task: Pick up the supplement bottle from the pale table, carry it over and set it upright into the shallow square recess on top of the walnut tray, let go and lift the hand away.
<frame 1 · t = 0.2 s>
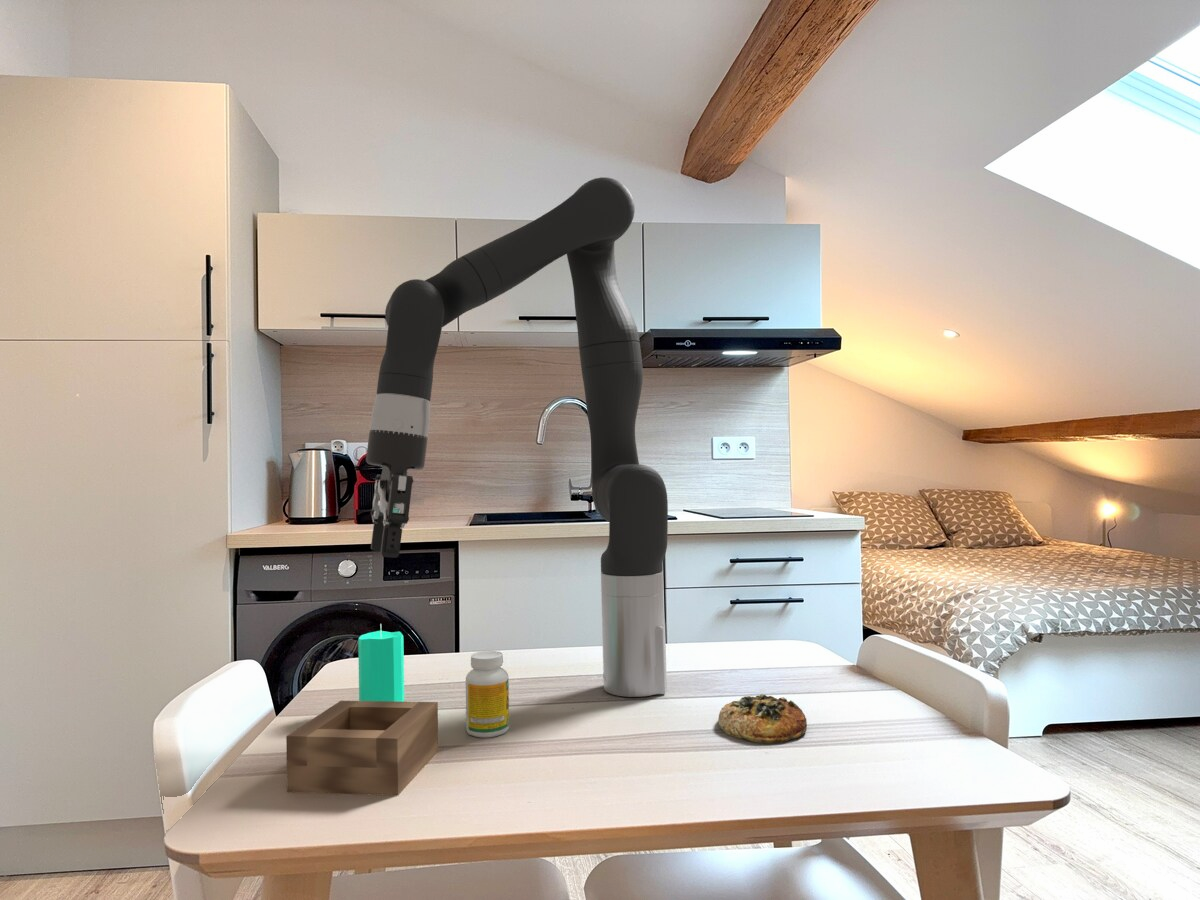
hand: (383, 554, 98), 22 cm above the table, tool pointing down, fingers open, 8 cm apart
supplement bottle: (488, 732, 94), on the table
candle: (382, 712, 103), on the table
walnut tray: (367, 772, 82), on the table
bread roll: (761, 732, 93), on the table
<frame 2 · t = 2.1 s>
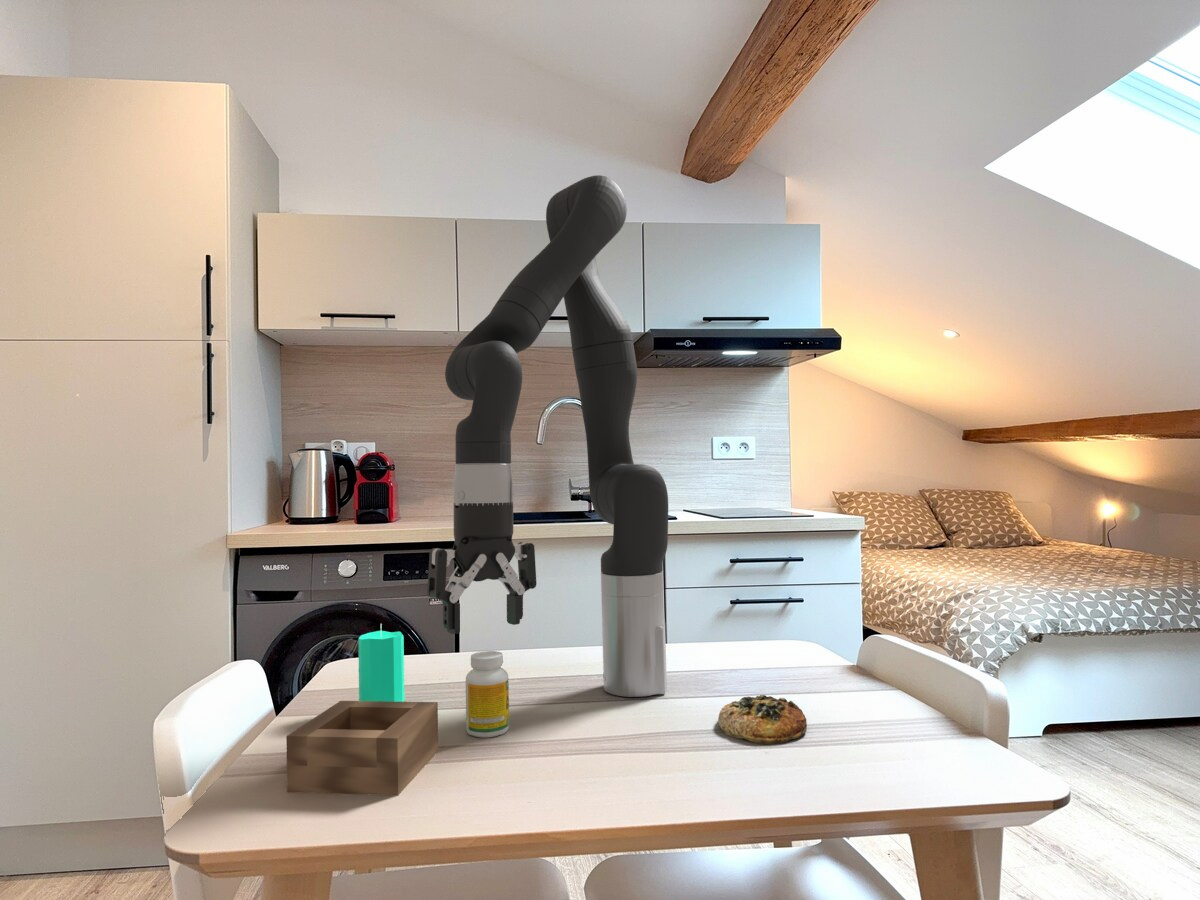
hand: (484, 628, 94), 13 cm above the table, tool pointing down, fingers open, 8 cm apart
nothing on the table moved.
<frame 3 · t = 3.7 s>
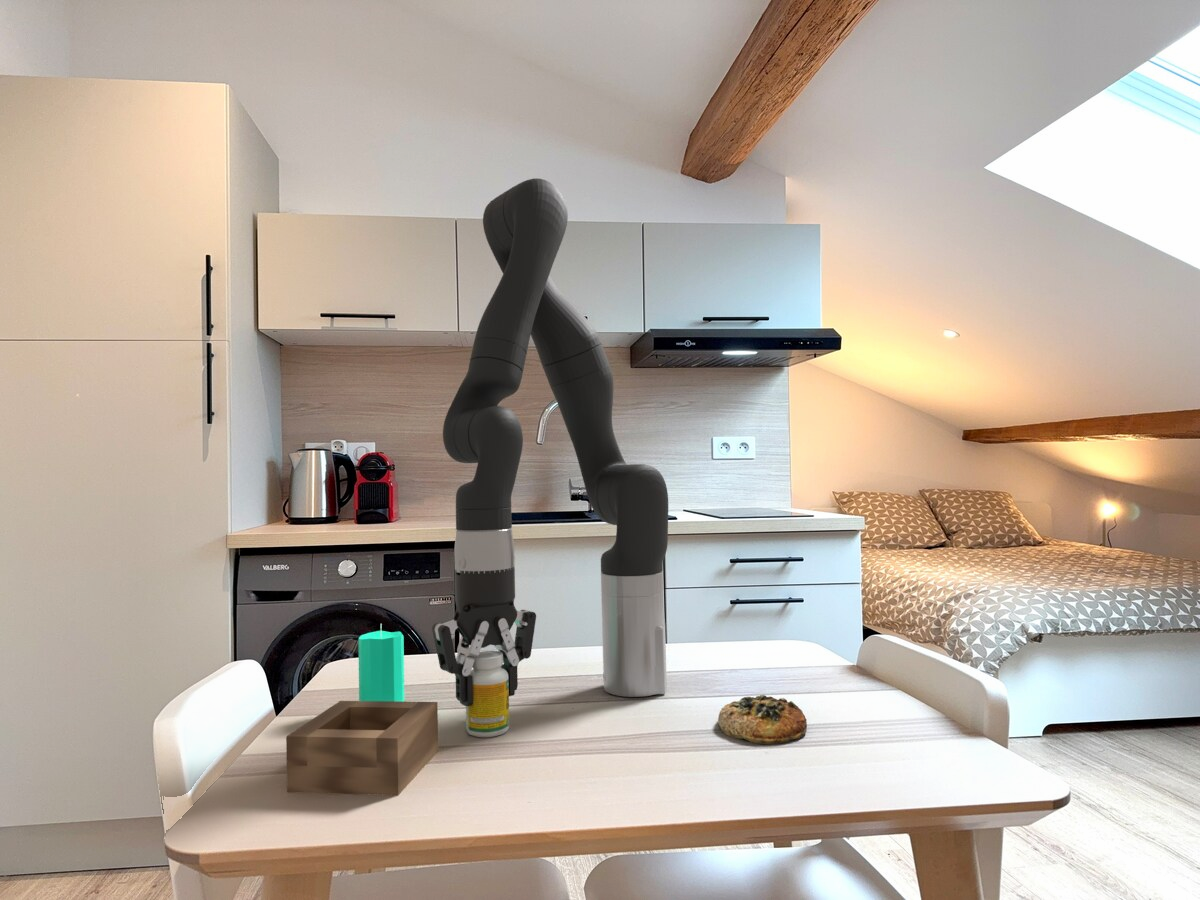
hand: (487, 699, 94), 4 cm above the table, tool pointing down, fingers closed on supplement bottle, 5 cm apart
supplement bottle: (488, 732, 94), on the table, touching gripper
everything else where it was.
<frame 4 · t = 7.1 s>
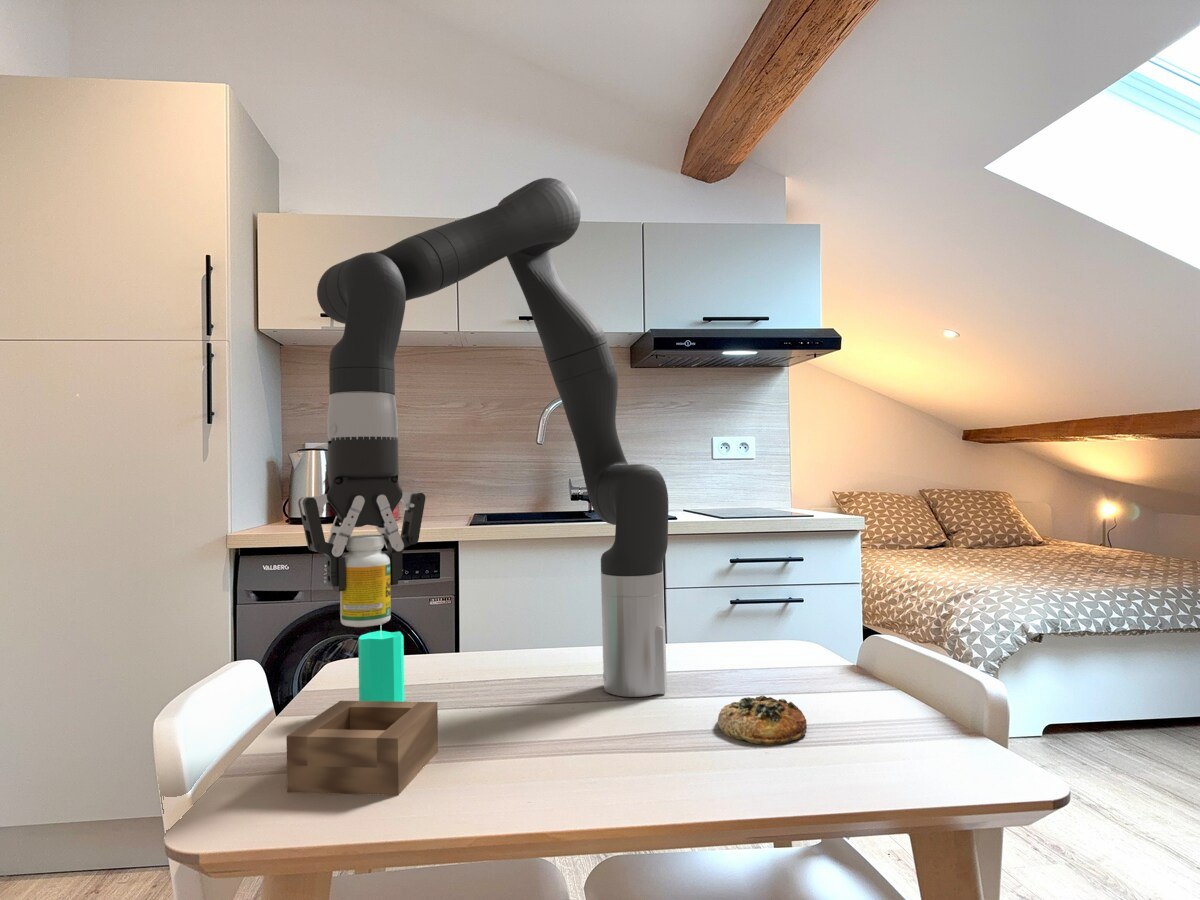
hand: (365, 586, 83), 20 cm above the table, tool pointing down, fingers closed on supplement bottle, 5 cm apart
supplement bottle: (366, 624, 83), point 16 cm above the table, touching gripper
everything else where it was.
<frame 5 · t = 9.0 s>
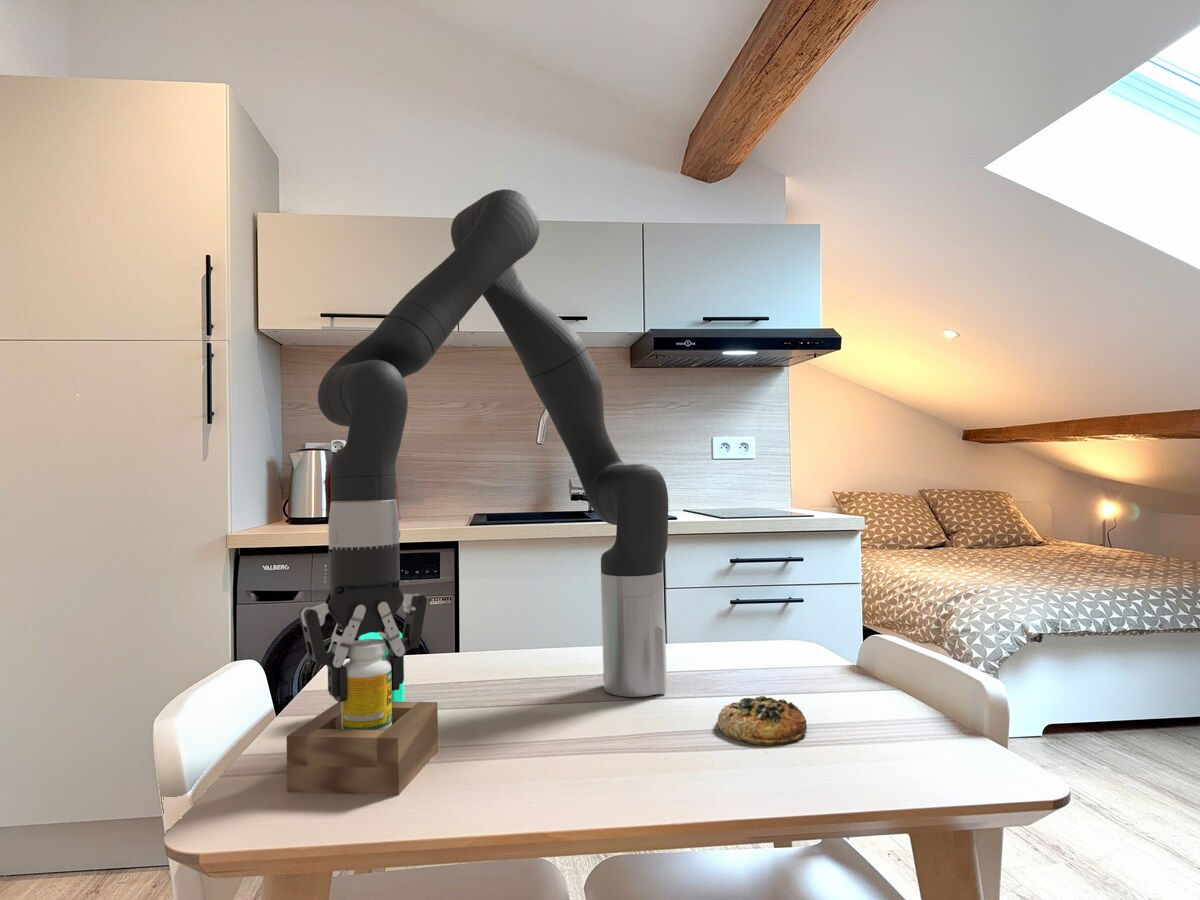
hand: (366, 693, 83), 8 cm above the table, tool pointing down, fingers closed on supplement bottle, 5 cm apart
supplement bottle: (367, 731, 83), point 4 cm above the table, touching gripper
everything else where it was.
when the fingers open (8 cm above the table, at t = 10.5 s): supplement bottle drops 1 cm, resting on walnut tray.
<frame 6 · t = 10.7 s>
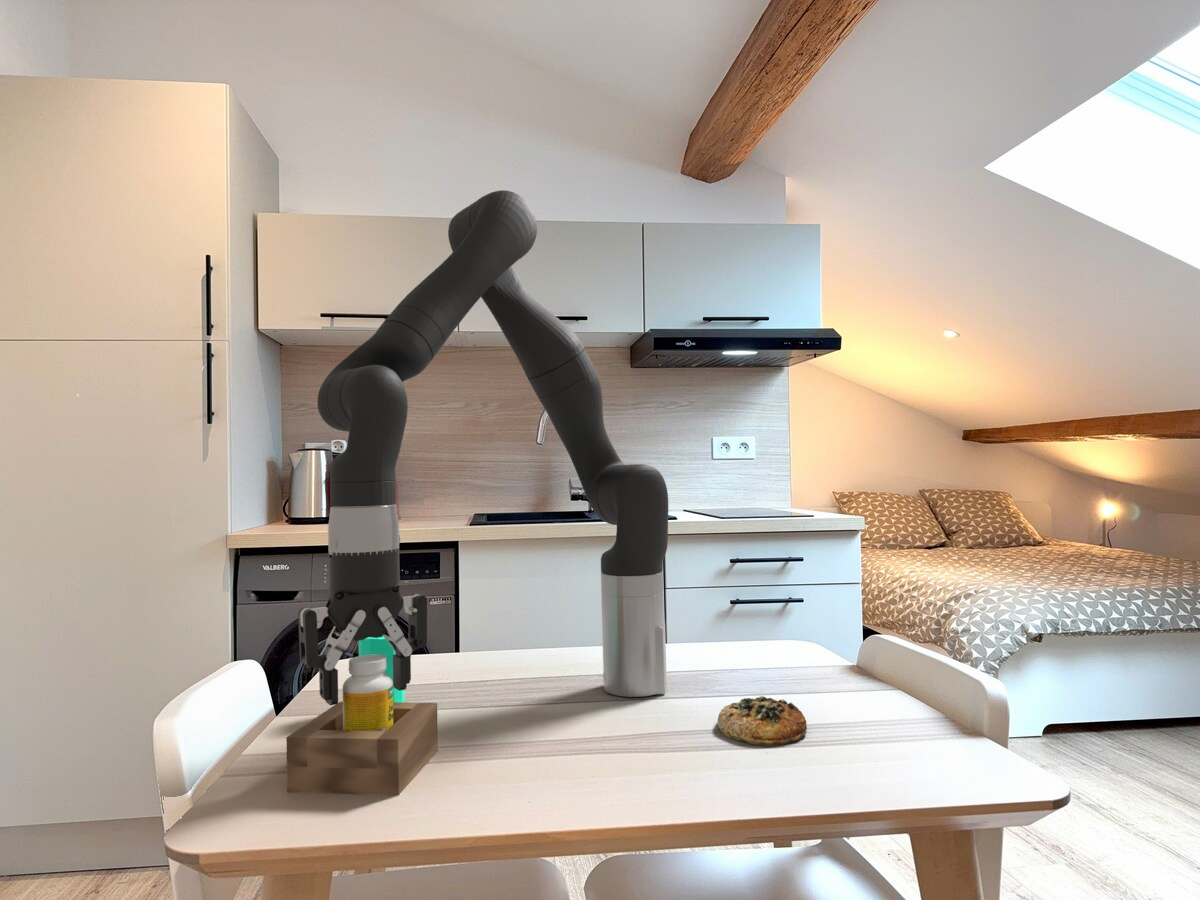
hand: (366, 695, 83), 8 cm above the table, tool pointing down, fingers open, 7 cm apart
supplement bottle: (368, 747, 83), point 2 cm above the table, touching walnut tray
walnut tray: (367, 773, 82), on the table, touching supplement bottle
everything else where it was.
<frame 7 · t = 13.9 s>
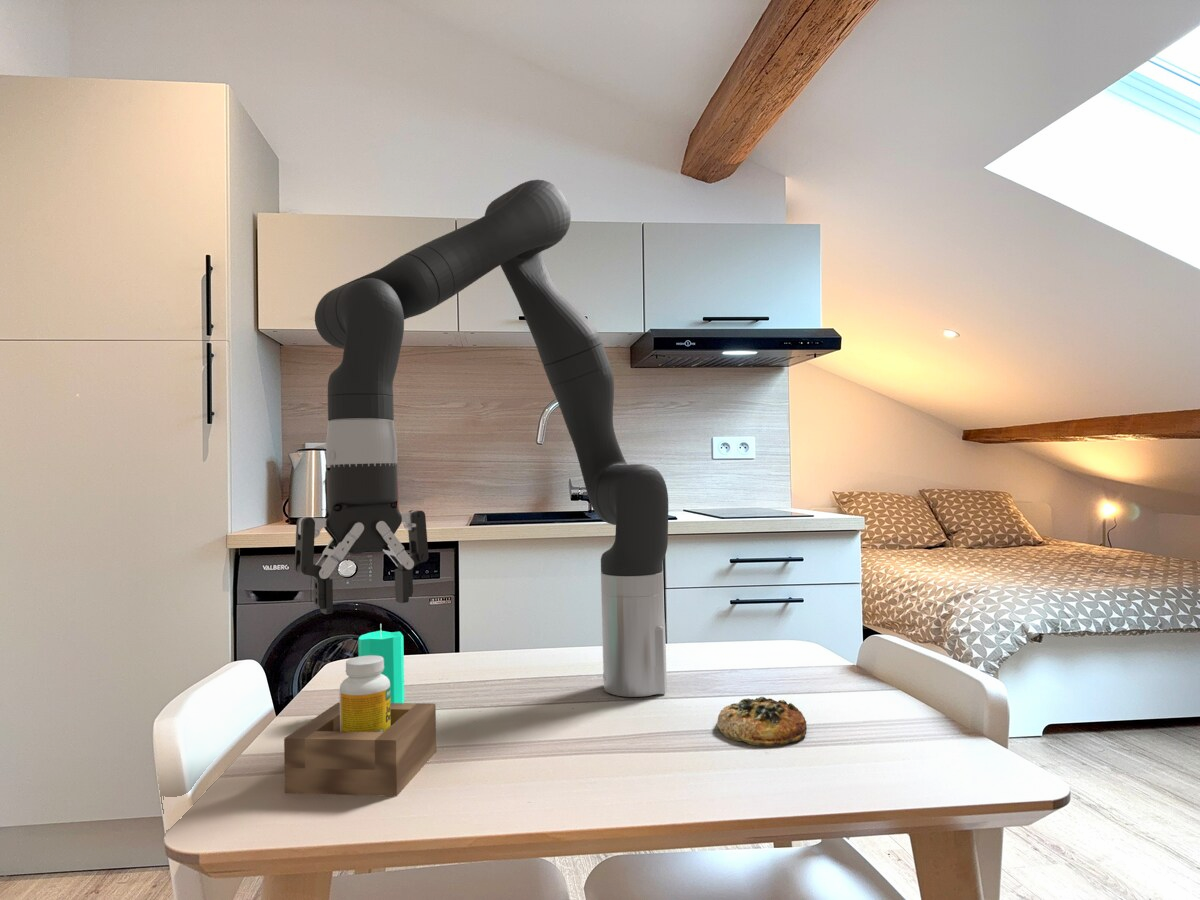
hand: (365, 607, 83), 18 cm above the table, tool pointing down, fingers open, 8 cm apart
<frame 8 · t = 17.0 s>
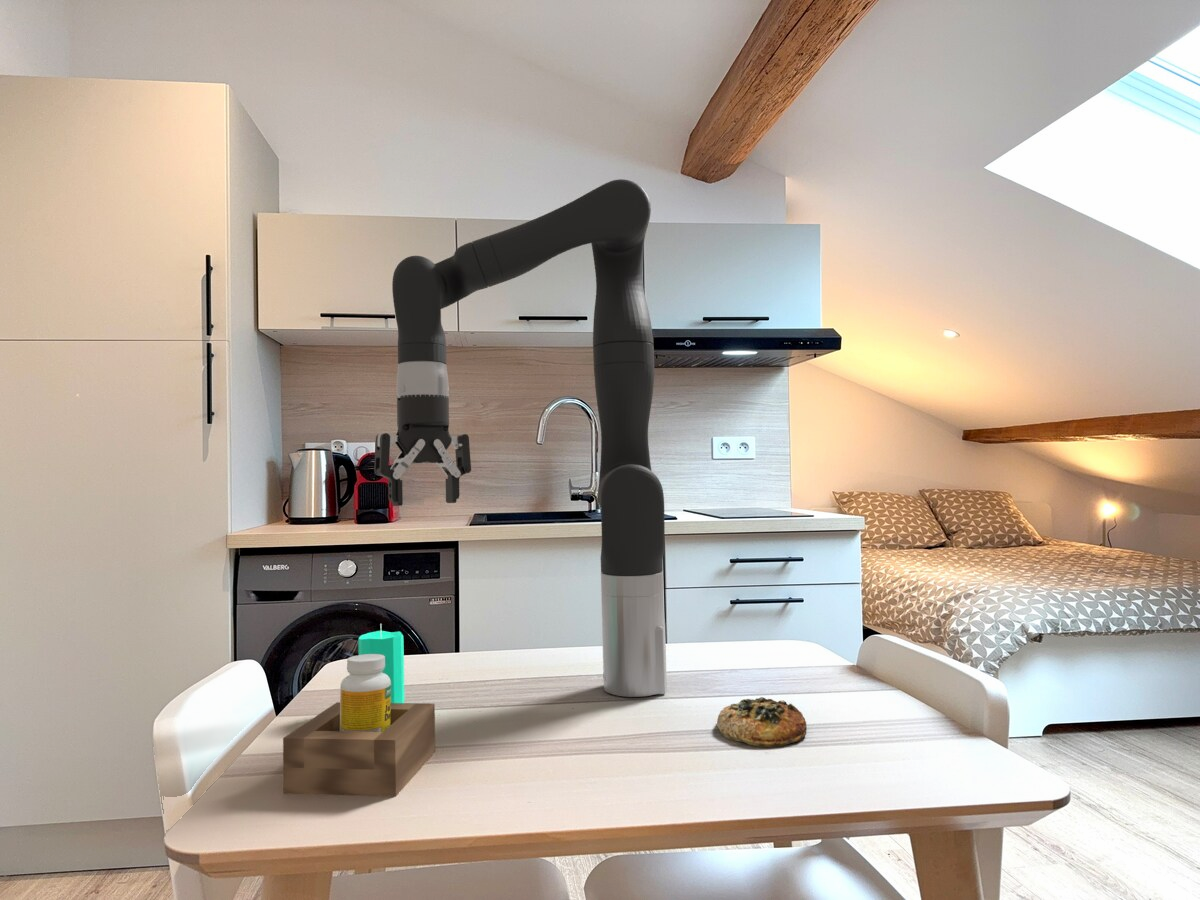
hand: (424, 504, 110), 28 cm above the table, tool pointing down, fingers open, 8 cm apart
at the end: supplement bottle 0.1 cm off-centre on the walnut tray, point 2.9 cm above the walnut tray's base; supplement bottle tilted 3°; the gripper is holding nothing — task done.
